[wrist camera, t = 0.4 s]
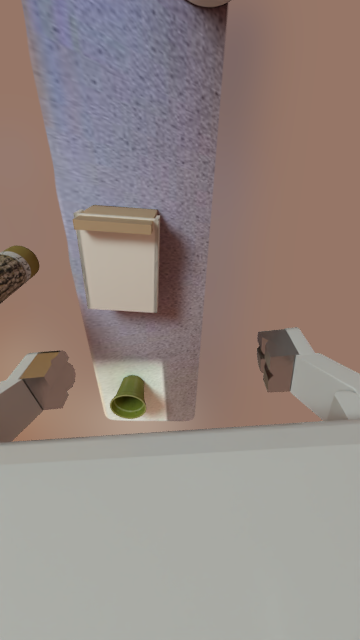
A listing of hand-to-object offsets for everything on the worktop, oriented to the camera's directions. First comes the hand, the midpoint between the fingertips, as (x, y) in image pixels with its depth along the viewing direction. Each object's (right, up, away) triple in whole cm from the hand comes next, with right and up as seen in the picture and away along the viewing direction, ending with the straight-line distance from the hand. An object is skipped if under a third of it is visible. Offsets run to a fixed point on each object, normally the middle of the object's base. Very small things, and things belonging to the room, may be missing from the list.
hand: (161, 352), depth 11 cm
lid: (-10, +12, +39) cm, 42 cm away
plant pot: (-13, -16, +64) cm, 67 cm away
